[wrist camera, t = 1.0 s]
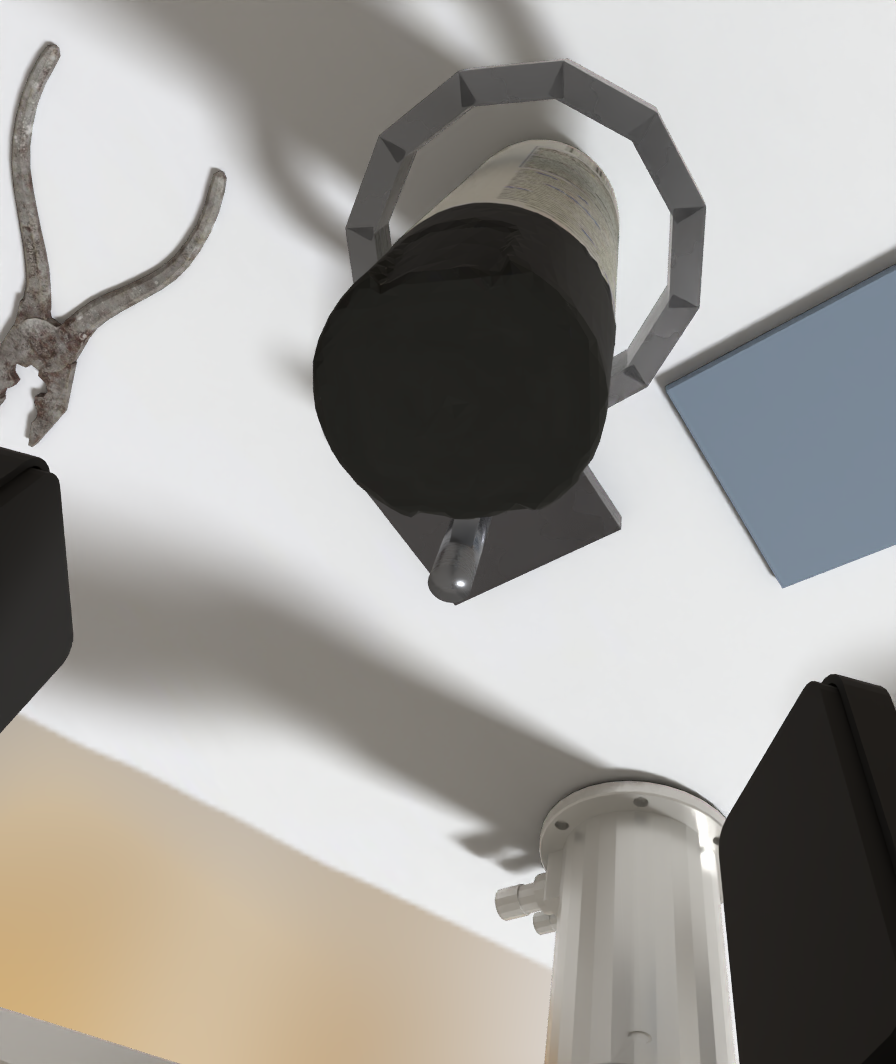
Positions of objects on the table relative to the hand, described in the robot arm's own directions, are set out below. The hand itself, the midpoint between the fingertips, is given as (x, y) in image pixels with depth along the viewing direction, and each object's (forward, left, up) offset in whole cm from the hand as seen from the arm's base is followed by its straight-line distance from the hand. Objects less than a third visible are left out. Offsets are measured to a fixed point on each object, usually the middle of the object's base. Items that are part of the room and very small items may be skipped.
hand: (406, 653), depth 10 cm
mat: (+6, -15, -28) cm, 33 cm away
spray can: (-1, 0, -29) cm, 29 cm away
